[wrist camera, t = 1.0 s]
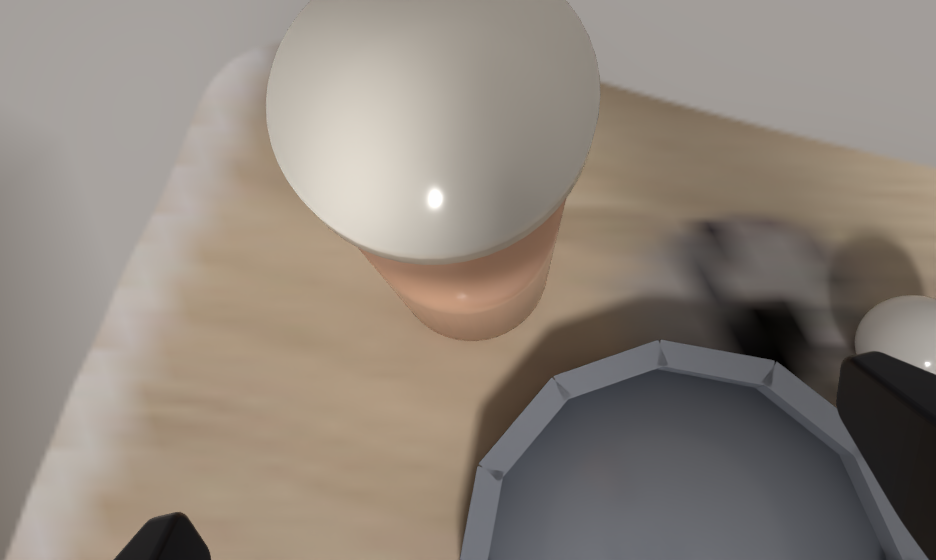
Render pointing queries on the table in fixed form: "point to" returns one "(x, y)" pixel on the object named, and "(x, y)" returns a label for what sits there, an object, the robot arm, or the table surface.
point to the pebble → (901, 330)
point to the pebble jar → (439, 143)
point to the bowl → (680, 468)
